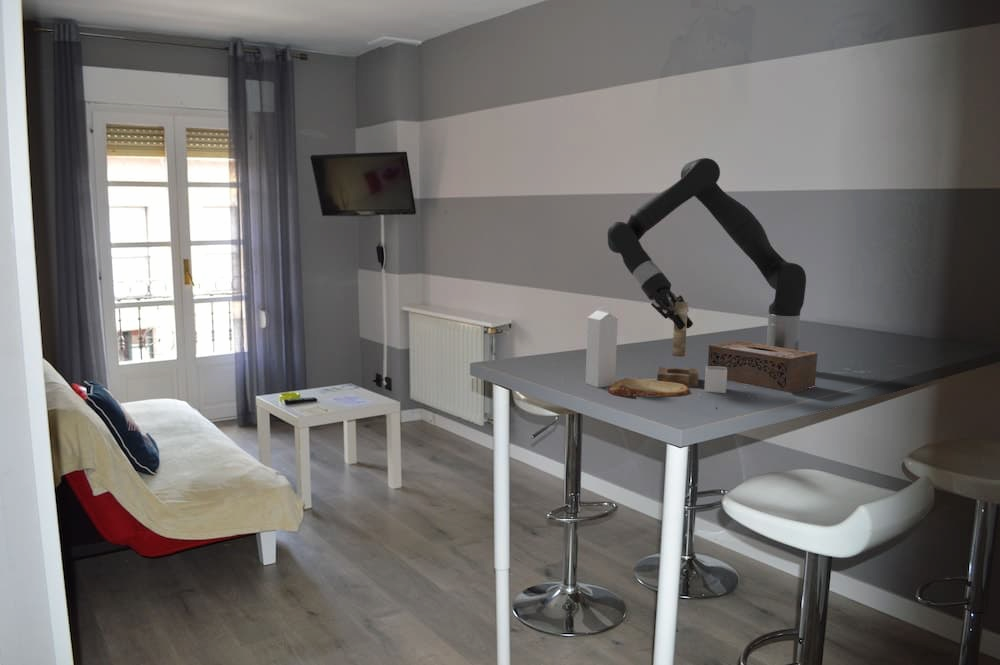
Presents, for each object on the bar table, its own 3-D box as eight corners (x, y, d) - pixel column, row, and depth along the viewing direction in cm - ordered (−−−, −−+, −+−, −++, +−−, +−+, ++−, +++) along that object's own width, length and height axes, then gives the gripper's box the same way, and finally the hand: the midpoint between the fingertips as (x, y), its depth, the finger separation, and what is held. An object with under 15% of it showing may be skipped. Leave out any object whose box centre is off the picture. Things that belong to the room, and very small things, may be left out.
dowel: (684, 354, 225) (688, 302, 223) (684, 356, 222) (688, 303, 219) (672, 354, 226) (675, 301, 224) (672, 356, 222) (675, 302, 220)
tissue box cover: (707, 378, 234) (708, 345, 232) (735, 373, 243) (737, 340, 241) (787, 395, 214) (790, 358, 213) (814, 388, 223) (817, 353, 222)
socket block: (697, 380, 229) (697, 368, 228) (697, 389, 218) (698, 376, 218) (658, 378, 232) (659, 366, 231) (657, 386, 221) (657, 374, 220)
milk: (597, 388, 218) (600, 308, 214) (585, 383, 223) (587, 305, 220) (615, 385, 221) (618, 307, 217) (602, 381, 226) (605, 304, 223)
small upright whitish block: (725, 390, 217) (726, 366, 216) (725, 395, 212) (727, 370, 211) (704, 389, 218) (705, 365, 217) (704, 393, 213) (705, 369, 212)
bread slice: (696, 395, 213) (697, 381, 212) (658, 406, 200) (658, 391, 200) (640, 384, 225) (641, 371, 225) (601, 393, 213) (602, 380, 212)
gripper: (646, 272, 220) (682, 320, 214) (673, 270, 230) (708, 316, 224) (629, 290, 225) (664, 337, 218) (656, 287, 235) (690, 332, 228)
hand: (686, 326), depth 221 cm, fingers closed on dowel, 3 cm apart
